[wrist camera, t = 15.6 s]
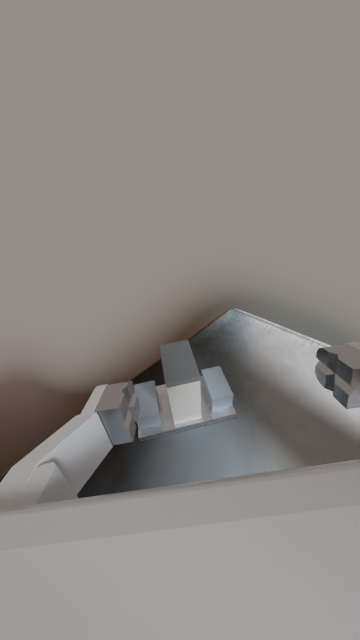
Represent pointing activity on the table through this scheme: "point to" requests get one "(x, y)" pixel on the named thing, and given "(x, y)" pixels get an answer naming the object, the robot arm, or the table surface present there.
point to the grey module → (181, 380)
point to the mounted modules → (213, 387)
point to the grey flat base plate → (170, 428)
